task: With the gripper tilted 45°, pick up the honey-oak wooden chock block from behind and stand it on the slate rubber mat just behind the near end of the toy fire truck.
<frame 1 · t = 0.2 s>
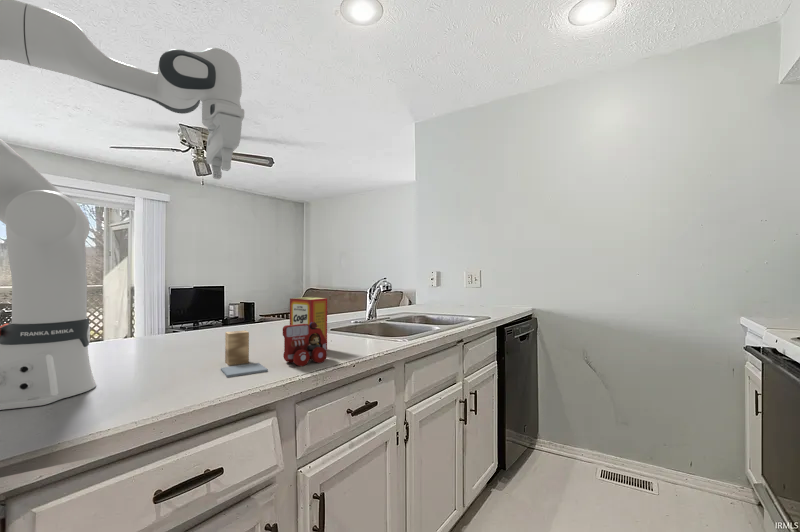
hand: (221, 174, 95), 48 cm above the countertop, tool pointing down, fingers open, 8 cm apart
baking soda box: (308, 349, 119), on the countertop
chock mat: (244, 370, 93), on the countertop
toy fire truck: (305, 363, 102), on the countertop
chock block: (236, 362, 102), on the countertop
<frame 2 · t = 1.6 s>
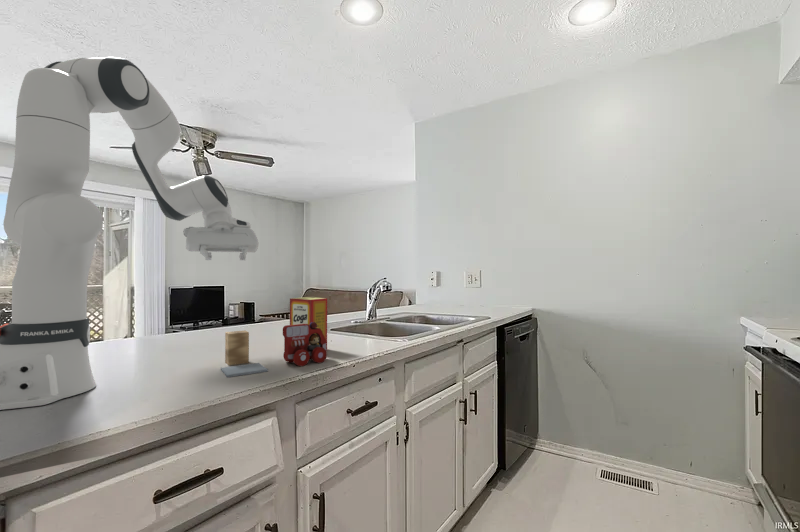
hand: (226, 258, 115), 28 cm above the countertop, tool tilted 45°, fingers open, 8 cm apart
nothing on the countertop moved.
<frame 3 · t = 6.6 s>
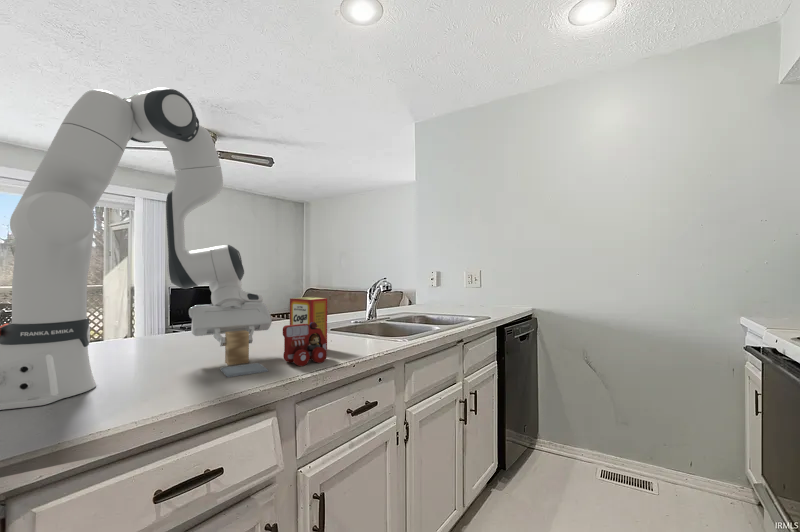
hand: (236, 343, 102), 5 cm above the countertop, tool tilted 45°, fingers closed on chock block, 5 cm apart
chock block: (236, 362, 102), on the countertop, touching gripper
everything else where it was.
when the fingers open (7 cm above the countertop, at t = 12.5 s): chock block drops 1 cm, resting on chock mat.
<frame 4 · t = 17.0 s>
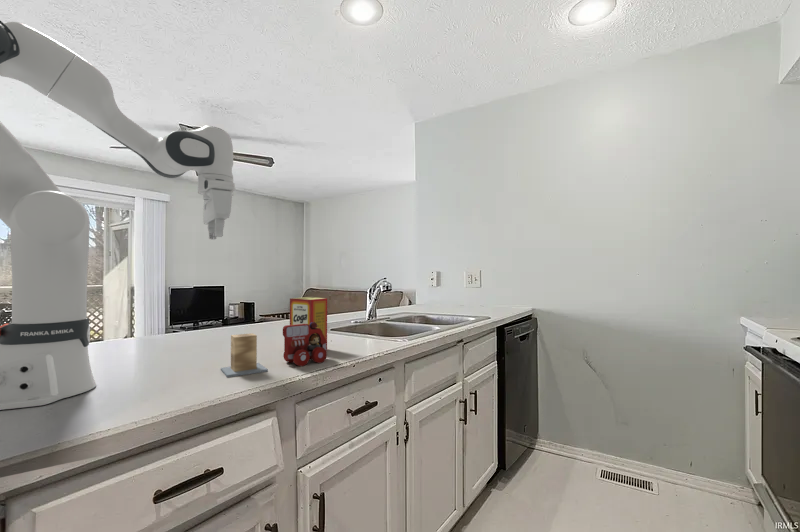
hand: (215, 238, 107), 33 cm above the countertop, tool pointing down, fingers open, 8 cm apart
chock block: (243, 368, 93), resting on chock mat
everything else where it was.
at the end: chock block inside the target area on the countertop beside the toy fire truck (0.1 cm from its centre), point 0.8 cm above the countertop; chock block tilted 0°; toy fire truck moved 0.3 cm from its start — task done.
